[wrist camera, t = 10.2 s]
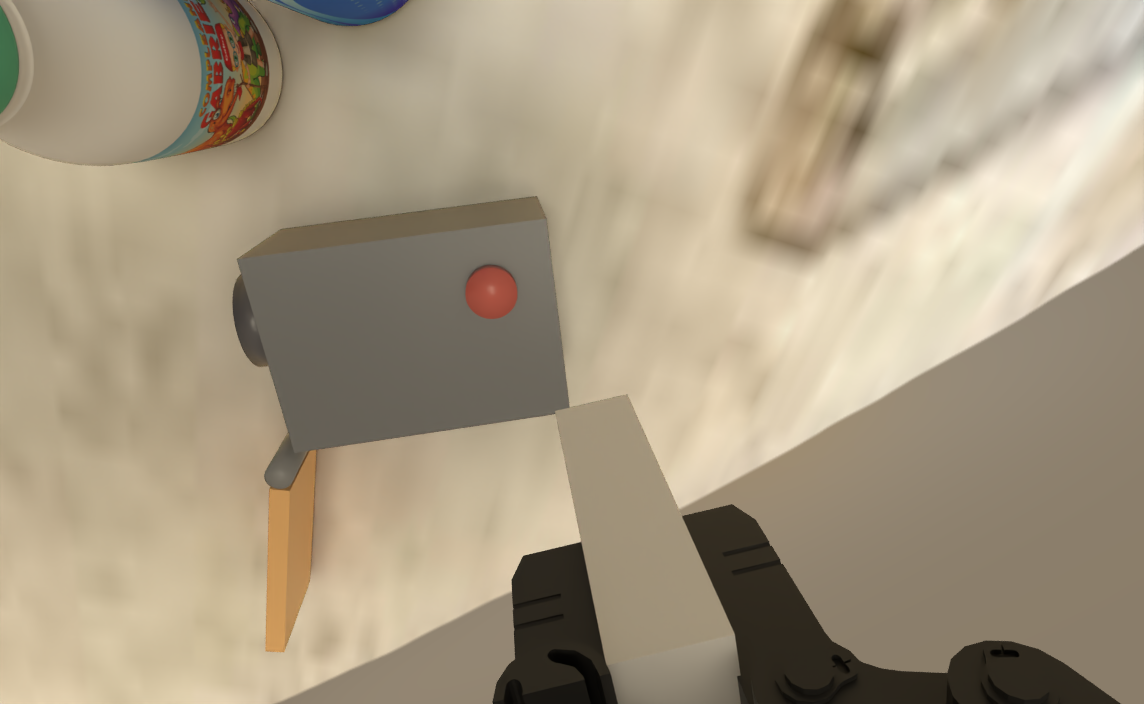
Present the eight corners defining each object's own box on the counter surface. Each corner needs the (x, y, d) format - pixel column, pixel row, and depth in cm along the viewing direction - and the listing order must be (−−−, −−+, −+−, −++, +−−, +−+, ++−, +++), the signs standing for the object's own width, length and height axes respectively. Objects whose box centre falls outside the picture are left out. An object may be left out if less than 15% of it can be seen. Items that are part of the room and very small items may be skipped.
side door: (293, 407, 40) (259, 462, 34) (322, 410, 40) (294, 466, 34) (287, 577, 44) (255, 653, 38) (313, 579, 45) (286, 655, 39)
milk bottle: (176, 166, 36) (-163, 253, 17) (86, 10, 33) (-441, -89, 14) (314, 111, 35) (121, 139, 17) (235, -50, 33) (-103, -233, 14)
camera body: (302, 399, 41) (262, 466, 34) (255, 232, 37) (199, 267, 30) (557, 362, 42) (572, 419, 35) (536, 196, 38) (547, 221, 31)
